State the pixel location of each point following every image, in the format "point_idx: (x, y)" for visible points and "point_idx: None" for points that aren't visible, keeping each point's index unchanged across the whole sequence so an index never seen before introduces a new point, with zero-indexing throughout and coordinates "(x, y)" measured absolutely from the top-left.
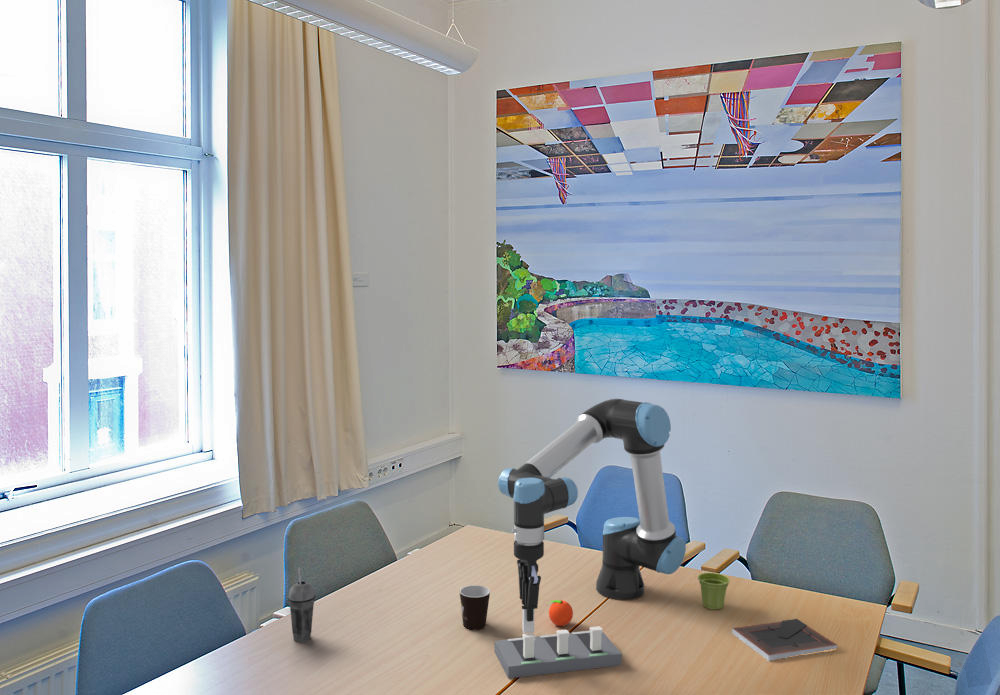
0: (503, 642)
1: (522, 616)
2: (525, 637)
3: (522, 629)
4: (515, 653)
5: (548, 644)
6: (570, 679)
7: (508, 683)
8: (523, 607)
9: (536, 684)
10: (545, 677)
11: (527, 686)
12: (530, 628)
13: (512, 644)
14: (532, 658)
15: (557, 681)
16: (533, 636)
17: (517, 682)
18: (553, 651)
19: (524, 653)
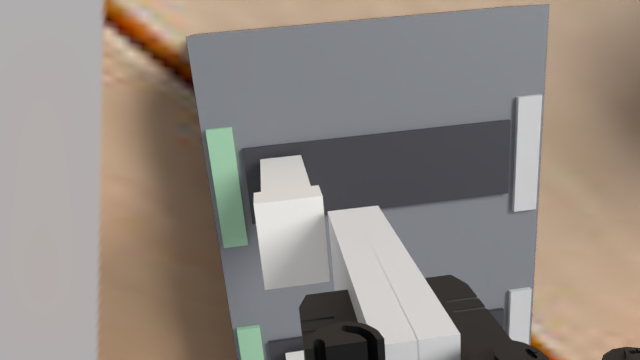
0: (514, 61)
1: (411, 262)
2: (256, 211)
3: (377, 209)
4: (357, 113)
5: None
6: (166, 343)
7: (138, 25)
8: (328, 354)
9: (121, 178)
10: (193, 235)
11: (101, 127)
12: (336, 280)
13: (474, 115)
14: None
15: (149, 284)
16: (267, 276)
17: (147, 79)
18: None
19: (271, 166)
